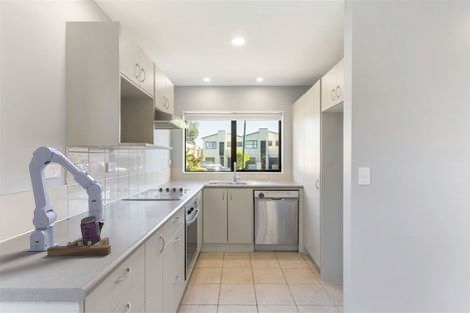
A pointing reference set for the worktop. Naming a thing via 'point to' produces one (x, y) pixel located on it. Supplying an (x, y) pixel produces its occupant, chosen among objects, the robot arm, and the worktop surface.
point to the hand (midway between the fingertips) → (96, 239)
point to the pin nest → (81, 248)
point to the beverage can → (90, 230)
